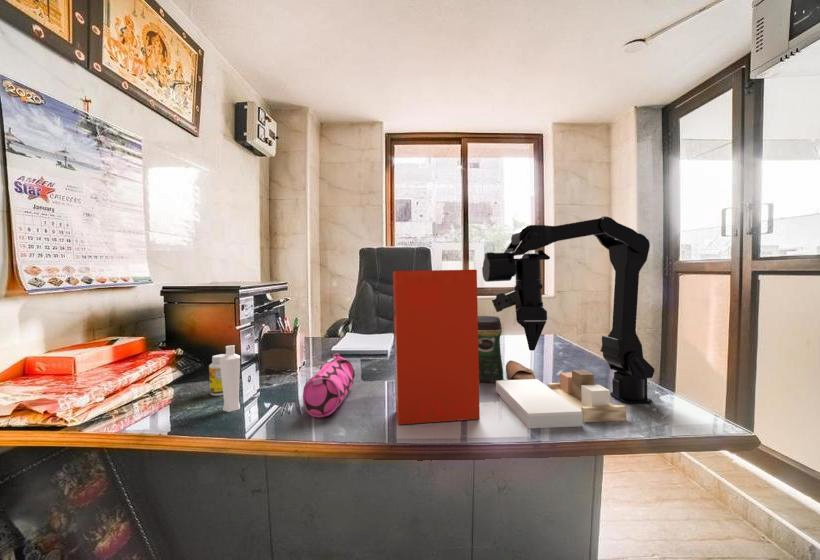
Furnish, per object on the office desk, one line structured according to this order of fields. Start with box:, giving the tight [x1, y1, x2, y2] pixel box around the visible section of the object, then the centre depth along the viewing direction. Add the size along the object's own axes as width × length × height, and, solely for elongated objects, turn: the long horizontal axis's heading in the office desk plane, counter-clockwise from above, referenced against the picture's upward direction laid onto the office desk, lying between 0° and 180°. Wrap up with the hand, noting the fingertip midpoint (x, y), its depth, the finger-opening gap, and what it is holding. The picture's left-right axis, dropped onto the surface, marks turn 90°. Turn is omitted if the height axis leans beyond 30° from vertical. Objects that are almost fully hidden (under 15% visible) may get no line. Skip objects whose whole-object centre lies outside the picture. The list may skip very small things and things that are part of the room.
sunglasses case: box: [505, 360, 536, 380], centre depth 103 cm, size 18×7×7 cm
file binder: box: [392, 269, 481, 425], centre depth 78 cm, size 8×17×32 cm, turn 97°
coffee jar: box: [478, 315, 504, 383], centre depth 104 cm, size 10×8×19 cm
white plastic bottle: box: [219, 344, 241, 413], centre depth 84 cm, size 5×4×15 cm
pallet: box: [547, 369, 627, 423], centre depth 82 cm, size 9×17×8 cm, turn 3°
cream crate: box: [581, 384, 611, 406], centre depth 77 cm, size 4×4×4 cm
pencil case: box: [302, 353, 356, 418], centre depth 88 cm, size 21×10×10 cm, turn 2°
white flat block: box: [495, 378, 583, 430], centre depth 82 cm, size 11×22×3 cm, turn 3°
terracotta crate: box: [559, 371, 572, 394], centre depth 87 cm, size 4×4×4 cm
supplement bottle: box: [208, 353, 226, 397], centre depth 96 cm, size 6×6×10 cm
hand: (530, 346), depth 83 cm, fingers open, 9 cm apart
